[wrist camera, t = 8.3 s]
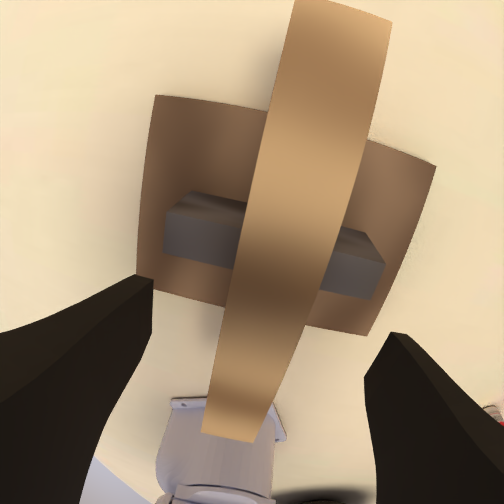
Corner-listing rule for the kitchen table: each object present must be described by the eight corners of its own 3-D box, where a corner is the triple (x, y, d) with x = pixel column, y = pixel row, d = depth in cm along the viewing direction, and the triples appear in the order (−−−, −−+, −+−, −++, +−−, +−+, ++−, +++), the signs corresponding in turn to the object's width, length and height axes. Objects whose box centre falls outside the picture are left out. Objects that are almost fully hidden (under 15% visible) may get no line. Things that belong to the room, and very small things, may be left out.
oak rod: (257, 404, 18) (252, 443, 15) (210, 394, 18) (200, 432, 15) (368, 42, 9) (392, 22, 7) (293, 21, 9) (296, -8, 7)
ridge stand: (141, 276, 20) (109, 318, 16) (162, 95, 15) (120, 90, 11) (364, 327, 21) (379, 378, 16) (429, 163, 15) (473, 181, 11)
